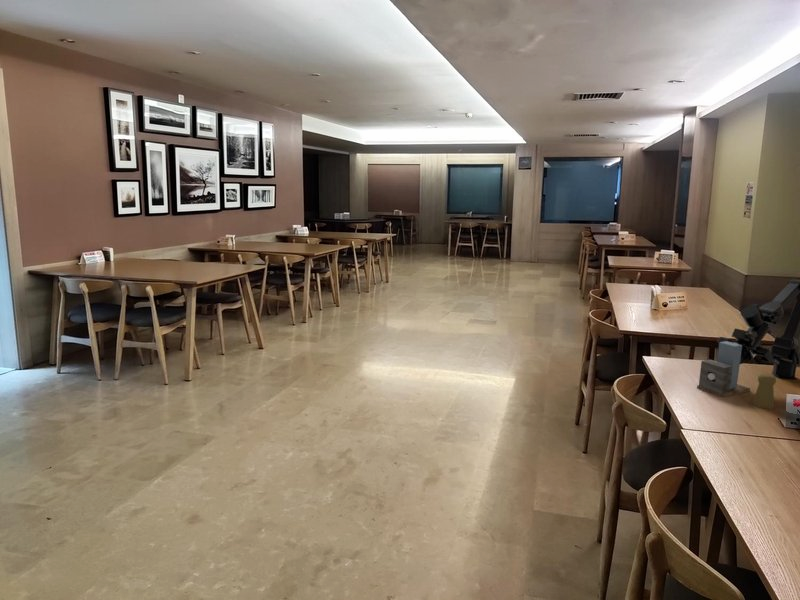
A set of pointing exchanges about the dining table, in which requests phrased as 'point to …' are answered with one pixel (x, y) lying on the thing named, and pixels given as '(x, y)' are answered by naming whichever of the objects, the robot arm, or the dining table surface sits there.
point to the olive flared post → (765, 391)
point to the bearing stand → (718, 379)
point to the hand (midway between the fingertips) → (731, 366)
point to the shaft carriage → (729, 360)
